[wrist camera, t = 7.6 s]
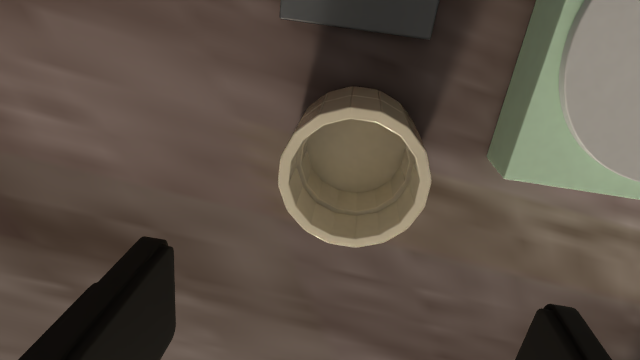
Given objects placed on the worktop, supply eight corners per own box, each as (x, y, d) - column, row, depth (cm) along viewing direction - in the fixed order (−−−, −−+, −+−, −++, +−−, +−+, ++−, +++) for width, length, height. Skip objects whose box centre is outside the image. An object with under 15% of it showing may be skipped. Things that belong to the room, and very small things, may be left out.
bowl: (302, 76, 21) (285, 96, 16) (429, 95, 21) (447, 121, 16) (290, 189, 24) (272, 234, 19) (402, 207, 23) (411, 257, 19)
